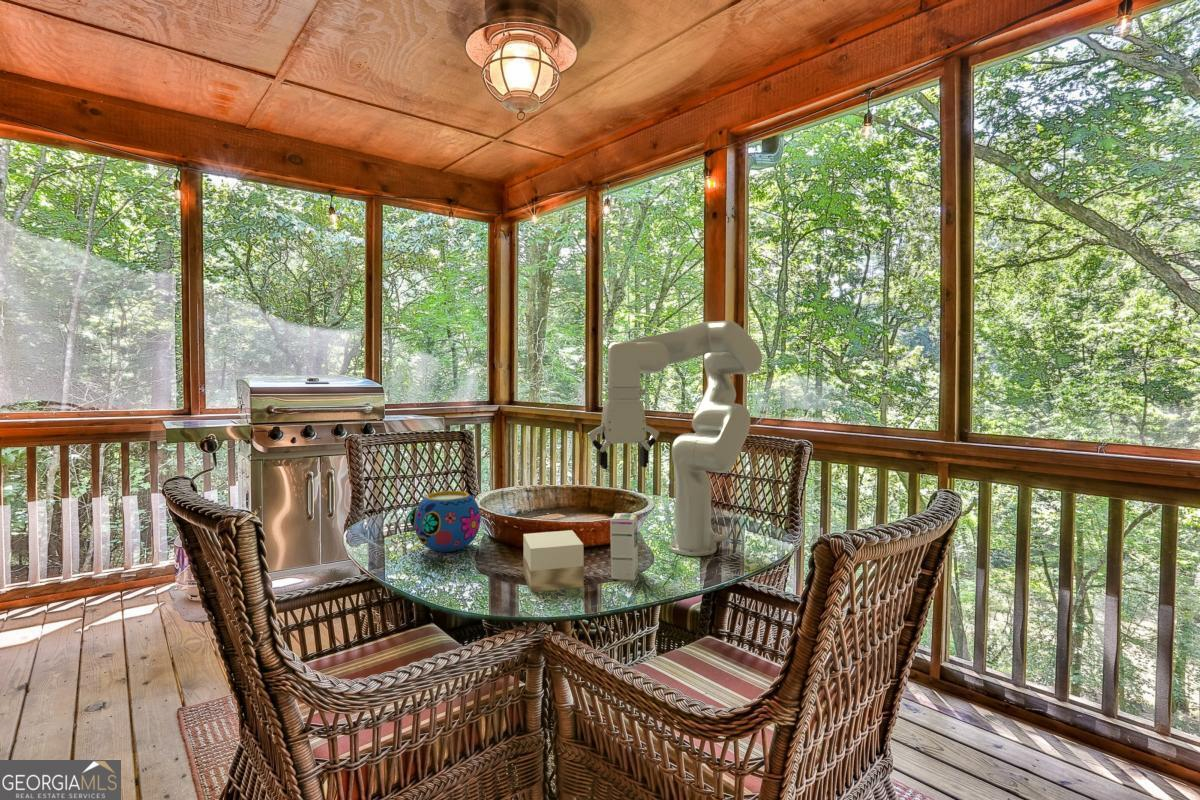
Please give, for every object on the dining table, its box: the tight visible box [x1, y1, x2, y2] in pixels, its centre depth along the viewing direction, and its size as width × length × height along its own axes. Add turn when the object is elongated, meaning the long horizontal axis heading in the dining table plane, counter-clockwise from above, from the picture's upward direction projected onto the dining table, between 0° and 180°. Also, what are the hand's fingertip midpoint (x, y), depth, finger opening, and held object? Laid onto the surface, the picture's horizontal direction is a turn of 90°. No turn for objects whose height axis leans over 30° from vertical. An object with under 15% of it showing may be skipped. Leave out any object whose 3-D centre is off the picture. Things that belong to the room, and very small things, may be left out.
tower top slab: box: [522, 529, 585, 571], centre depth 138 cm, size 12×12×5 cm
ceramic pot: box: [408, 490, 482, 553], centre depth 162 cm, size 18×18×15 cm
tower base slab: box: [522, 554, 585, 593], centre depth 138 cm, size 12×12×5 cm
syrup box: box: [609, 512, 639, 581], centre depth 140 cm, size 6×6×14 cm
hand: (623, 467), depth 139 cm, fingers open, 9 cm apart
